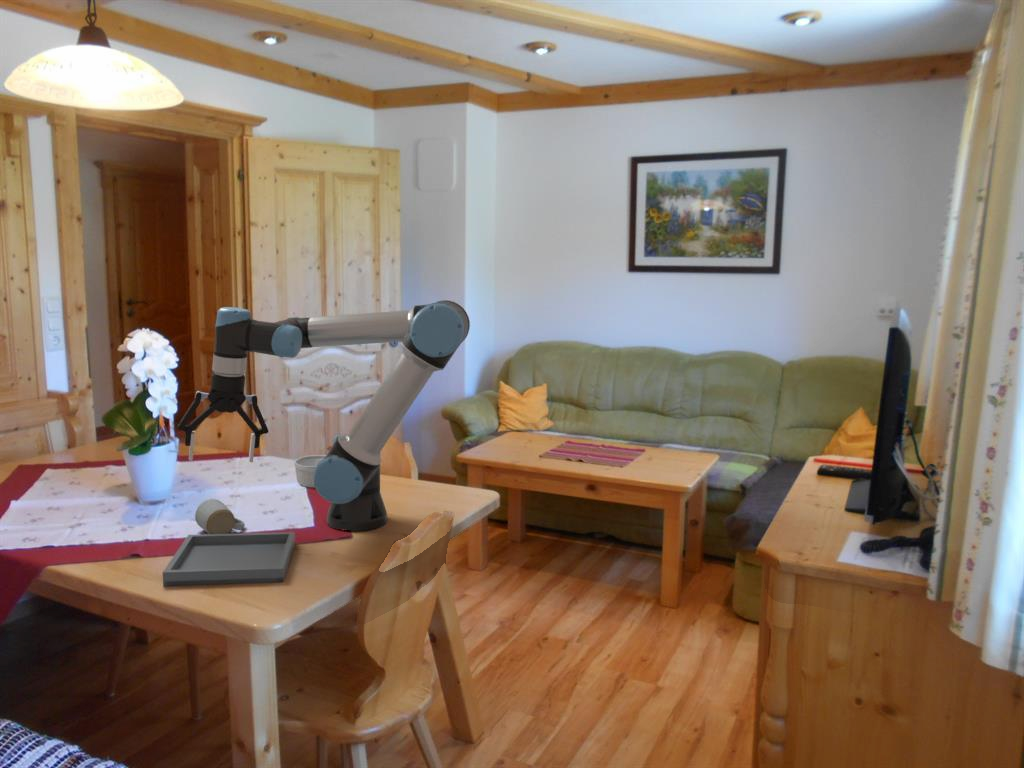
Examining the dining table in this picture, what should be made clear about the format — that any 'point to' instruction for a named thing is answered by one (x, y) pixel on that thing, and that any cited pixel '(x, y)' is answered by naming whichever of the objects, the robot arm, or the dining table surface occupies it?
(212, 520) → the ceramic mug
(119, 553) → the dining table surface
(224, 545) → the slate tray
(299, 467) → the ramekin
